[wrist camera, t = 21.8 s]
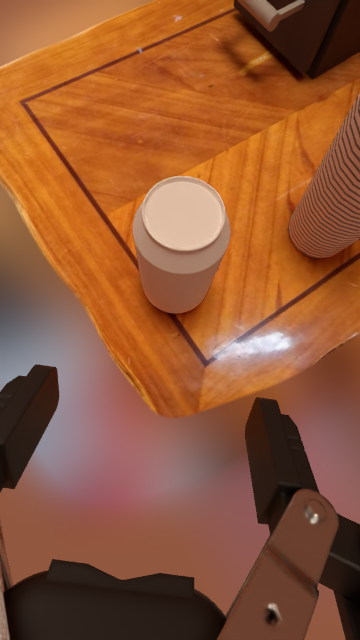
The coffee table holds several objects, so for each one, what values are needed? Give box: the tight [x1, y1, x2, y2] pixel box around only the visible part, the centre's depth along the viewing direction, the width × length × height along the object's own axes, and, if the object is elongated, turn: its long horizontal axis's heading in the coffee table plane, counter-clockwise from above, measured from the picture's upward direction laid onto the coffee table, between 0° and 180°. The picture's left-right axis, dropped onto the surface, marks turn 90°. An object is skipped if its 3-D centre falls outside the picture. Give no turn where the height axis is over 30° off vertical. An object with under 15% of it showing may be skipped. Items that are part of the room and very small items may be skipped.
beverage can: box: [133, 176, 230, 313], centre depth 24 cm, size 6×6×12 cm
